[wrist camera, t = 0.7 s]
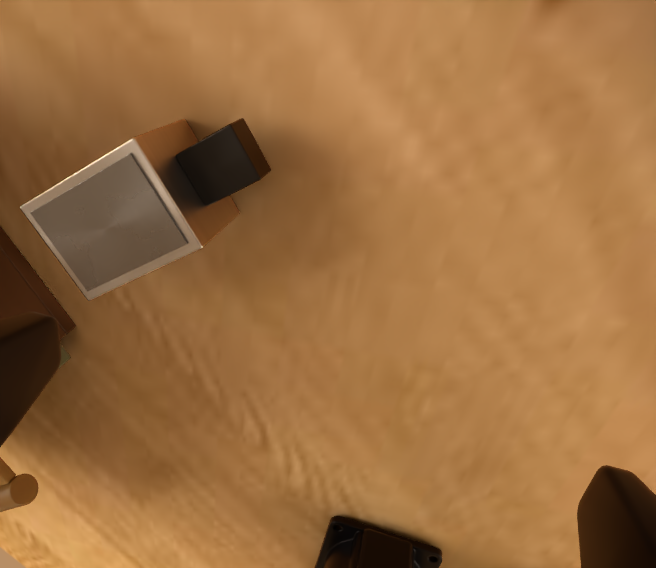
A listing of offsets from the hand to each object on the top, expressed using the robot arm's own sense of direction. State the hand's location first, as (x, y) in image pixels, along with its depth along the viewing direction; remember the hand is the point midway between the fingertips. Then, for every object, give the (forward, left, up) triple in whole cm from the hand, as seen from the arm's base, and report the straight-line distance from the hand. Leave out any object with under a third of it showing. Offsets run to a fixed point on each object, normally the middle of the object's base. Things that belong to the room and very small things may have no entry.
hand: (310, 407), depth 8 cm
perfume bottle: (-2, +9, -14) cm, 16 cm away
